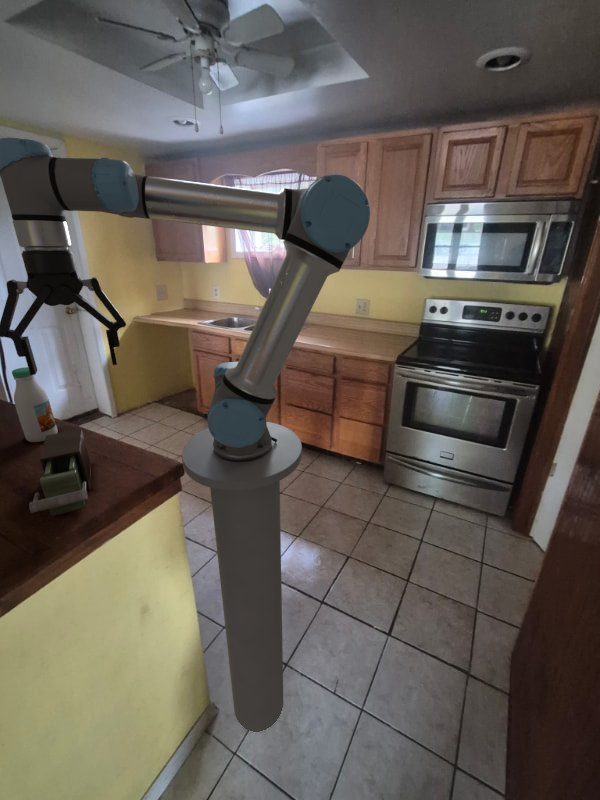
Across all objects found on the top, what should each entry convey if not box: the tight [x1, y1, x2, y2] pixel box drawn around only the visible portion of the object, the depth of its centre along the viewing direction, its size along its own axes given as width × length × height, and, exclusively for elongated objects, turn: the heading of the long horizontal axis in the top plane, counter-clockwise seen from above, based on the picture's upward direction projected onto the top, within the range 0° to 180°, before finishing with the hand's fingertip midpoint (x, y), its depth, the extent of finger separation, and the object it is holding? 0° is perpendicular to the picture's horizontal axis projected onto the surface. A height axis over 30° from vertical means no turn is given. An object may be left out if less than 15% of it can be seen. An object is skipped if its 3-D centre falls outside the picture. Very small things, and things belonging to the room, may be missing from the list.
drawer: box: [28, 454, 89, 517], centre depth 75 cm, size 16×9×9 cm, turn 27°
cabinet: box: [39, 428, 92, 492], centre depth 84 cm, size 11×7×10 cm, turn 27°
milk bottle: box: [11, 366, 59, 443], centre depth 101 cm, size 8×8×20 cm
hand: (76, 367), depth 72 cm, fingers open, 13 cm apart
